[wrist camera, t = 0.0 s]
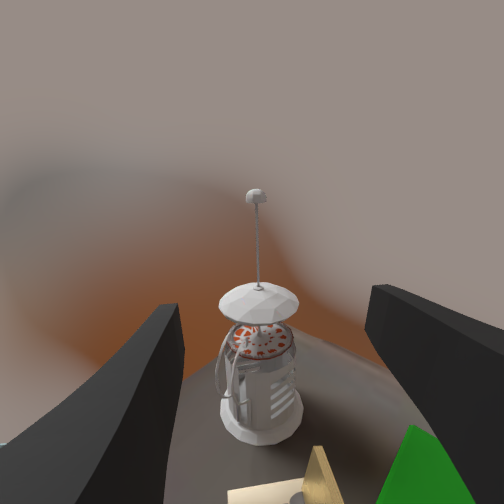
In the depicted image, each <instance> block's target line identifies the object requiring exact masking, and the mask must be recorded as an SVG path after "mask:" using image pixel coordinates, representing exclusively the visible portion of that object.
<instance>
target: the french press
mask: <svg viewBox="0 0 504 504" xmlns="http://www.w3.org/2000/svg"><path fill="white" fill-rule="evenodd" d="M246 202H247V203H254V204H255V210H256V211H255V213H256V246H257V247H256V250H257V283H249V284H245V285H241V286H238V287H236V288H234V289H232V290H231V291H229V292H228V293H226V294H225V295H224V297H223V298H222V299H221V300H220V304H219V309H220V310H221V311H222V313H223V314H224V316H225V317H226V318H227V319H229V320H231V321H233V322H235V323H237V324H235V325H234V326H232V327H231V329H230V330H229V331H228V333H227V336H226V338H225V340H224V342H223V343H222V346H221V350H220V352H219V356H218V360H217V365H216V371H215V379H216V389H217V391H218V394H219V395H220V396H221V397H222V400H221V412H220V415H221V418H222V420H223V422H224V425H225V427H226V429H227V430H228V431H229V432H230V433H231V434H232V435H234V436H235V437H236V438H237V439H238V440H240V441H243V442H246V443H249V444H252V445H255V446H262V445H273V444H277V443H279V442H281V441H283V440H284V439H286V438H288V437H290V436H292V434H293V433H294V432H295V430H296V429H297V428H298V426H299V425H300V424H301V420H302V415H303V409H304V408H303V404H302V401H301V397H300V394H299V393H298V392H297V391H296V390H295V372H294V373H293V370H292V369H294V371H295V363H296V347H295V344H294V341H293V338H294V337H293V334H292V331H291V329H290V328H289V327H288V326H286V325H285V324H284V323H282V321H285V320H286V319H287V318H288V317H290V316H291V315H292V314H294V313H295V312H296V311H297V308H298V305H299V302H298V300H297V298H296V295H294V294H293V293H291V292H290V291H289V290H287V289H285V288H283V287H280V286H277V285H273V284H270V283H267V282H261V283H259V245H258V244H259V241H258V203H263V202H266V195H265V193H264V192H263V191H261V190H260V189H254V190H250V191H249V192H248V193H247V195H246ZM225 343H226V346H225ZM224 346H225V363H226V376H227V391H226V392H225V394H224V395H223V394H222V392H221V391H220V387H219V380H218V368H219V363H220V358H221V354H222V351H223V348H224ZM229 347H230V348H231V351H230V352H229V353H228V354H227V357H226V353H227V349H228V348H229ZM288 351H289V353H290V354H291V355H292V357H293V360H291V359H290V357H289V356H288ZM232 354H236V356H235V358H232V359H231V360H230V361H229V360H228V358H229V357H230V356H231V355H232ZM239 355H240V356H241V357H238V356H239ZM249 360H260V362H257V363H252V364H246V365H240V366H236V363H237V362H242V361H249ZM288 361H289V362H290V363H289V364H288ZM232 363H233V365H232ZM259 366H260V370H256V371H252V372H246V371H245V373H241V374H239V373H238V370H244V369H249V368H254V367H259ZM289 372H290V373H291V374H292V375H291V376H290V375H289ZM287 377H288V378H287ZM293 379H294V382H293ZM290 381H291V383H292V385H291V384H290V383H289V382H290Z"/></svg>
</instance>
